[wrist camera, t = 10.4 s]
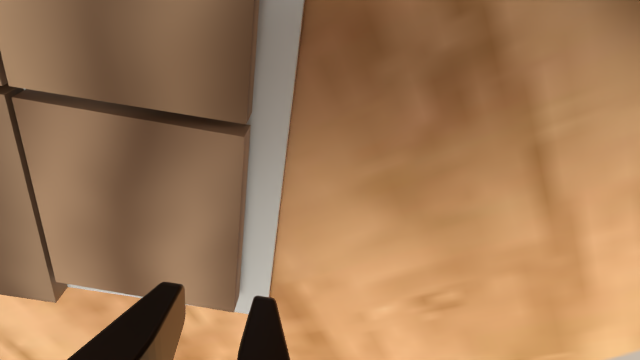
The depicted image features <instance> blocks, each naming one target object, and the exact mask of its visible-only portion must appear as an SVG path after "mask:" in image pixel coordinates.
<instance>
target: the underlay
mask: <svg viewBox="0 0 640 360" xmlns="http://www.w3.org/2000/svg"><path fill="white" fill-rule="evenodd" d="M304 3H305V0H259V15H258V29H257V44H256V59H255V74H254V88H253V103H252V113H251V116H250V118H249V120H248V122H247V125H251V128H250V143H249V158H248V172H247V187H246V202H245V217H244V231H243V246H242V261H241V276H240V291H239V298H238V301H237V304H236V307H235V311H234V312H238V313H245V314H249V311H250V308H251V304H252V301H253V298H254V297H255V296H264V297H269V295H270V287H271V279H272V270H273V262H274V253H275V245H276V237H277V228H278V220H279V212H280V203H281V195H282V187H283V178H284V170H285V162H286V153H287V145H288V136H289V128H290V120H291V111H292V103H293V95H294V86H295V78H296V70H297V61H298V53H299V45H300V36H301V28H302V19H303V11H304ZM23 89H24V88H23ZM24 90H25V89H24ZM67 286H68V287H72V288H79V289H85V290H92V291H99V292H105V293H112V294H119V295H125V296H132V297H139V298H143V297H141V296H135V295H129V294H124V293H118V292H112V291H106V290H100V289H94V288H89V287H83V286H77V285H71V284H67ZM185 305H188V304H185ZM192 306H194V305H192Z"/></svg>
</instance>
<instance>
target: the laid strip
mask: <svg viewBox="0 0 640 360" xmlns="http://www.w3.org/2000/svg"><path fill="white" fill-rule="evenodd" d="M22 91H24V89H23V88H18V87H12V86H9V85H8V80H7V76H6V72H5V68H4V64H3V60H2V56H1V51H0V294H1V295H7V296H14V297H21V298H27V299H34V300H41V301H48V302H54V303H56V302H57V301H58V299H59V298H60V297H61V295H62V294H63V293H64V291H65V290H66V288H67V287H68V286H67V284H65V283H59V282H56V280H55V276H54V271H53V267H52V263H51V259H50V255H49V251H48V247H47V242H46V238H45V234H44V230H43V226H42V222H41V218H40V213H39V209H38V205H37V201H36V197H35V193H34V188H33V184H32V180H31V176H30V172H29V168H28V164H27V159H26V155H25V151H24V147H23V143H22V139H21V134H20V130H19V126H18V122H17V118H16V114H15V110H14V105H13V101H12V97H13V96H15V95H16V94H18V93H20V92H22Z"/></svg>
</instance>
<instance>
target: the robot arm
mask: <svg viewBox="0 0 640 360" xmlns="http://www.w3.org/2000/svg"><path fill="white" fill-rule="evenodd" d="M184 321H185V288H184V286H183V285H182V284H178V283H172V282H162V283H160V284H158V285H157V286H156V287H155V288H154V289H152V290H151V291H150V292H149V293H147V294H146V295H145V296H144V297H143V298H141V299H140V300H139V301H138V302H137V303H135V304H134V305H133V306H132V307H130V308H129V309H128V310H127V311H126V312H124V313H123V314H122V315H121V316H119V317H118V318H117V319H116V320H115V321H113V322H112V323H111V324H110V325H109V326H107V327H106V328H105V329H104V330H102V331H101V332H100V333H99V334H98V335H96V336H95V337H94V338H93V339H92V340H90V341H89V342H88V343H87V344H85V345H84V346H83V347H82V348H81V349H79V350H78V351H77V352H76V353H75V354H73V355H72V356H71V357H70V358H68V359H67V360H173V358H174V355H175V352H176V348H177V345H178V342H179V338H180V335H181V332H182V328H183V325H184ZM237 360H290V357H289V353H288V349H287V345H286V341H285V336H284V332H283V328H282V324H281V320H280V316H279V312H278V307H277V303H276V300H275V299H274V298H271V297H264V296H255V297H254V298H253V301H252V304H251V308H250V311H249V315H248V318H247V322H246V325H245V329H244V332H243V336H242V339H241V343H240V347H239V352H238V358H237Z"/></svg>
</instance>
